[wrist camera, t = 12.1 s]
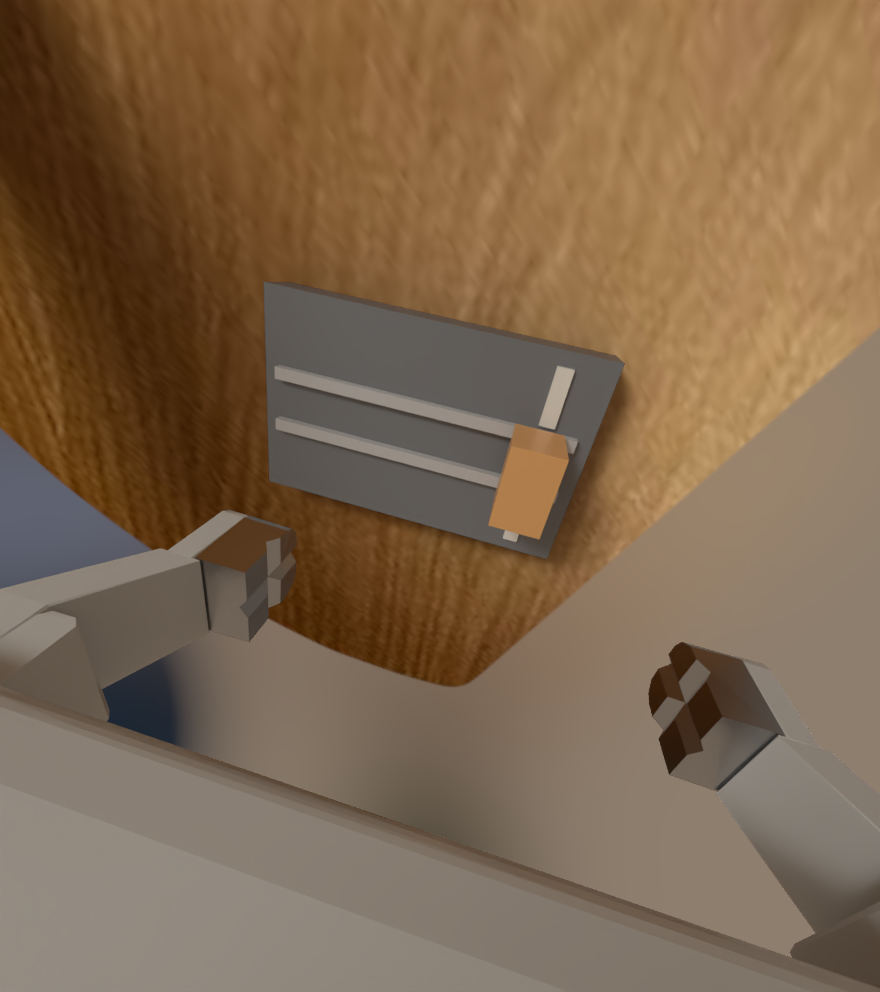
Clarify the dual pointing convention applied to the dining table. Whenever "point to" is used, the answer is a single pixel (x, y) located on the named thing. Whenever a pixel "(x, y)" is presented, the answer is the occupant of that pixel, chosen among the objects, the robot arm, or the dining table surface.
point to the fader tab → (529, 481)
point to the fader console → (419, 408)
